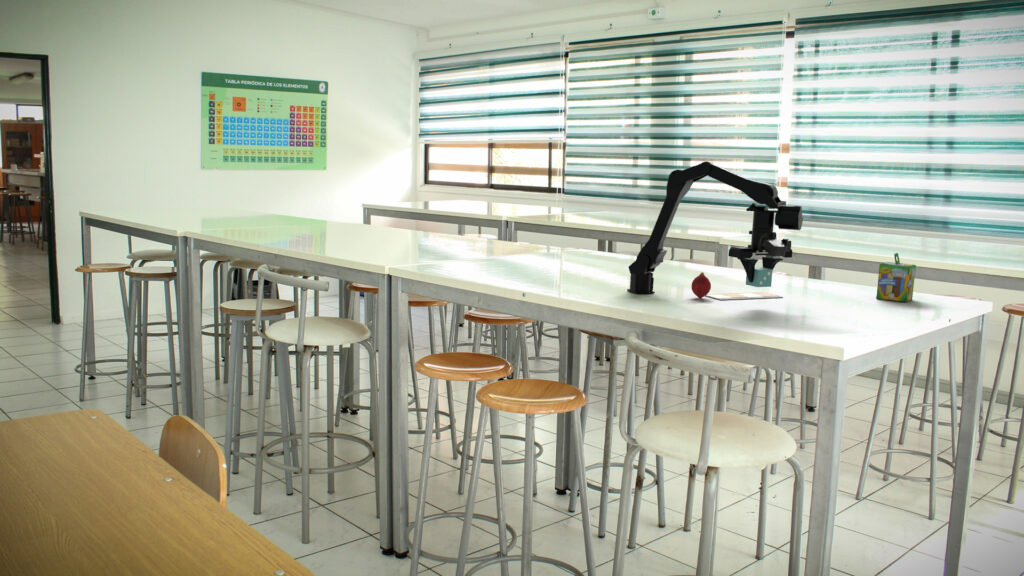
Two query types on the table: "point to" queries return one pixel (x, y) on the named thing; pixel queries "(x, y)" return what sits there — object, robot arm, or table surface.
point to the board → (742, 296)
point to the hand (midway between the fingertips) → (758, 282)
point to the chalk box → (896, 281)
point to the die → (761, 277)
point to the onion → (701, 285)
